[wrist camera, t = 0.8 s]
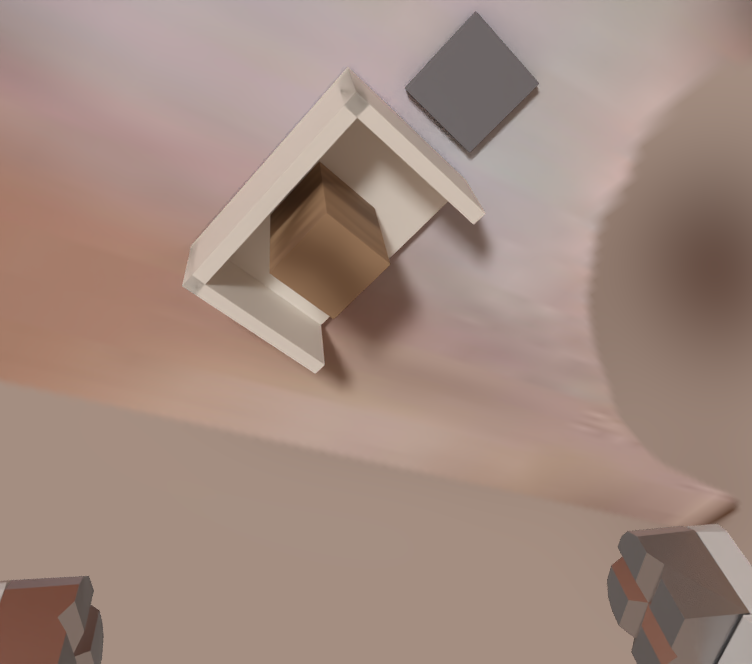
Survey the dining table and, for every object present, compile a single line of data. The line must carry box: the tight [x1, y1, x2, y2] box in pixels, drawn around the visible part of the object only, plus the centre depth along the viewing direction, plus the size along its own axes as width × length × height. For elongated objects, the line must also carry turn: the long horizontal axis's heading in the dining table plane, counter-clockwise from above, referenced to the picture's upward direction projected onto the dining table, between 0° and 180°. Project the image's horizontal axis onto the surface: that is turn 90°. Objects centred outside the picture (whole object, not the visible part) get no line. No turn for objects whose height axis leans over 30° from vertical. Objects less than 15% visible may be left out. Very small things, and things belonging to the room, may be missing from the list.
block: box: [269, 161, 390, 319], centre depth 43 cm, size 5×5×8 cm
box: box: [182, 67, 486, 374], centre depth 45 cm, size 16×11×6 cm
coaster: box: [405, 11, 539, 153], centre depth 43 cm, size 6×6×1 cm
